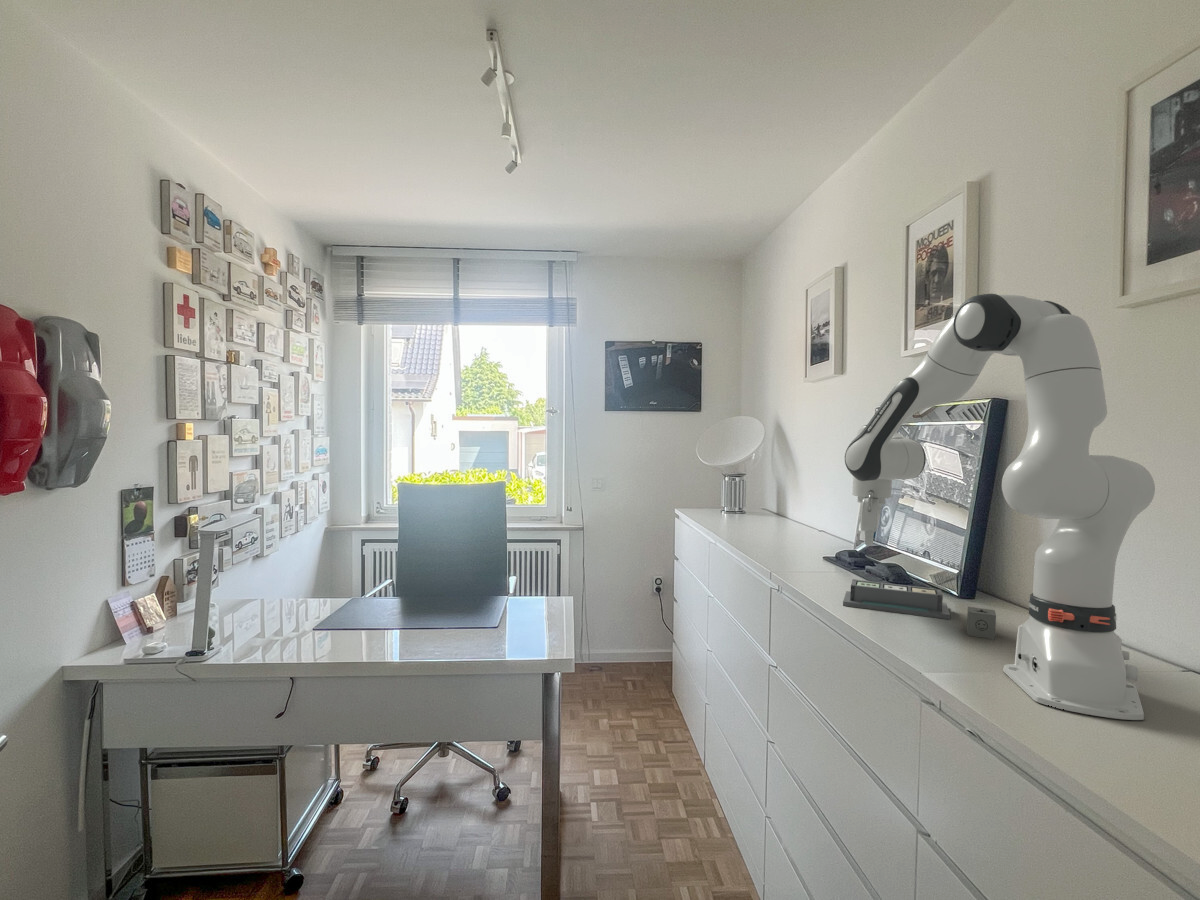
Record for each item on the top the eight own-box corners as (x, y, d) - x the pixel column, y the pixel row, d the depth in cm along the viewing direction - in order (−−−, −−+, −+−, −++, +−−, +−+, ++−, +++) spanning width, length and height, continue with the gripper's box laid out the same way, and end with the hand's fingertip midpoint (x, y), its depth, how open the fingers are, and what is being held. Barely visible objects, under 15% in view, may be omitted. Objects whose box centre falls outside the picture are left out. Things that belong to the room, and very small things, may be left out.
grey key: (906, 599, 156) (907, 590, 156) (883, 596, 158) (884, 588, 158) (906, 594, 161) (906, 586, 161) (884, 591, 163) (884, 584, 163)
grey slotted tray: (949, 619, 150) (950, 598, 149) (842, 605, 159) (843, 586, 159) (946, 607, 160) (946, 588, 160) (846, 594, 170) (846, 576, 170)
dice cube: (967, 635, 138) (968, 611, 138) (966, 629, 142) (967, 606, 142) (994, 639, 136) (996, 615, 135) (993, 633, 140) (994, 610, 140)
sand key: (935, 602, 154) (936, 594, 154) (912, 599, 156) (912, 591, 156) (934, 597, 158) (934, 589, 158) (911, 595, 160) (912, 587, 160)
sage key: (878, 595, 159) (878, 587, 159) (856, 593, 161) (856, 585, 161) (879, 591, 163) (879, 583, 163) (857, 588, 165) (857, 581, 165)
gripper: (885, 493, 151) (882, 553, 151) (886, 487, 169) (883, 540, 170) (855, 491, 153) (852, 550, 154) (860, 485, 172) (857, 537, 173)
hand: (868, 544), depth 162 cm, fingers closed
